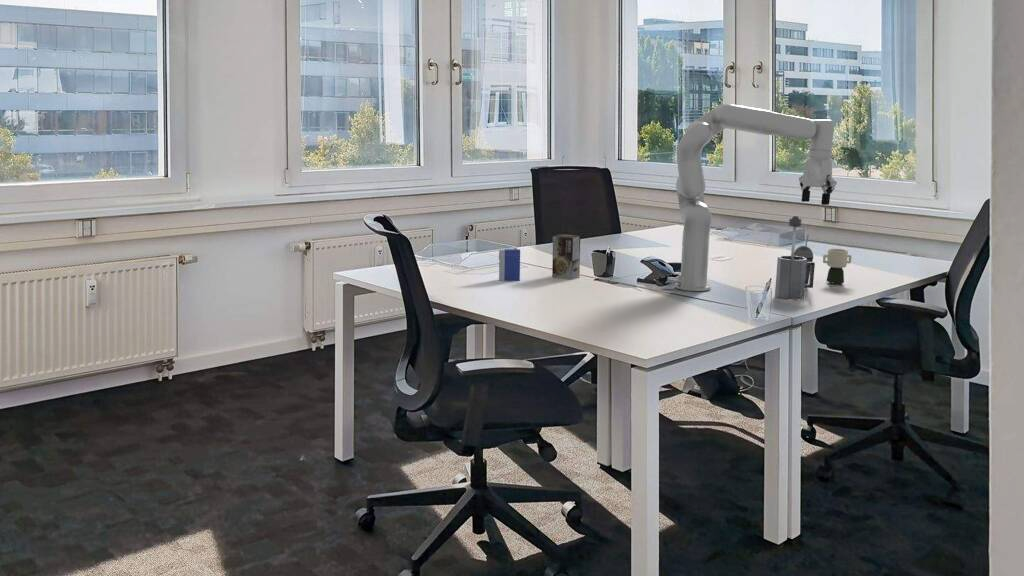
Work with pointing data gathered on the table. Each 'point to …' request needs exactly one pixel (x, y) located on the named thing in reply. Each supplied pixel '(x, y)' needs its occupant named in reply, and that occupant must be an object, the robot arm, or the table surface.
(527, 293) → the table surface
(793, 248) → the plunger
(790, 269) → the carafe
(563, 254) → the coffee box
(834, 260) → the character mug
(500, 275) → the walkman
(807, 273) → the beverage cup
